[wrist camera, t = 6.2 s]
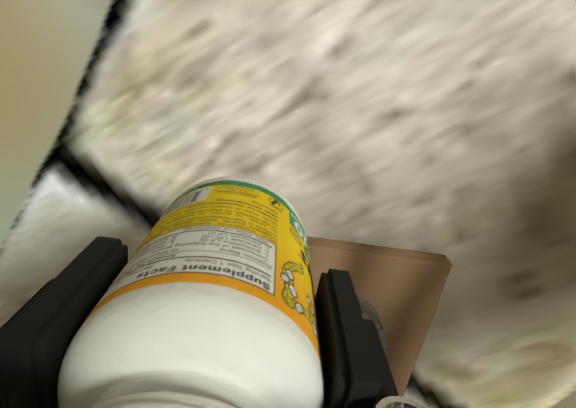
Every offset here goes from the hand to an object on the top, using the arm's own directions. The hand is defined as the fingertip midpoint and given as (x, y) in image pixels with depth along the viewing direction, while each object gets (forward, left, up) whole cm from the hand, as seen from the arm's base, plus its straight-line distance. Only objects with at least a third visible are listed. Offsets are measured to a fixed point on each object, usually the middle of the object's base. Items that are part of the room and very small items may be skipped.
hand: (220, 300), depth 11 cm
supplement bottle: (0, 0, -4) cm, 4 cm away
